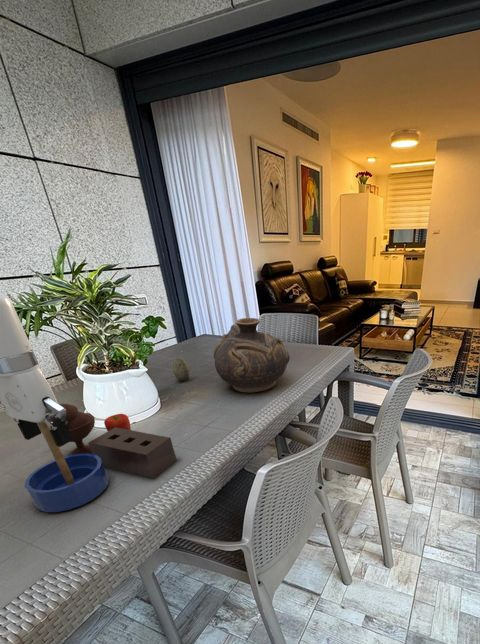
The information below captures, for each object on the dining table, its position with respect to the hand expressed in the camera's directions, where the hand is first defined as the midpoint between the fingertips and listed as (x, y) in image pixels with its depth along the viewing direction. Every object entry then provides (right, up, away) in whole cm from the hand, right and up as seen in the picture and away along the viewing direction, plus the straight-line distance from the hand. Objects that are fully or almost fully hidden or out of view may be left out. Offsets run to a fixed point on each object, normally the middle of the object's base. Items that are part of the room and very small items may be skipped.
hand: (49, 439), depth 75 cm
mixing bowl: (+1, -12, +7) cm, 14 cm away
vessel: (+33, +19, +62) cm, 72 cm away
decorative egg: (+2, +22, +69) cm, 72 cm away
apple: (0, -1, +28) cm, 28 cm away
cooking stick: (+1, -12, +7) cm, 14 cm away
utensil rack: (+10, -7, +17) cm, 21 cm away
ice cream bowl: (-8, -4, +22) cm, 24 cm away
